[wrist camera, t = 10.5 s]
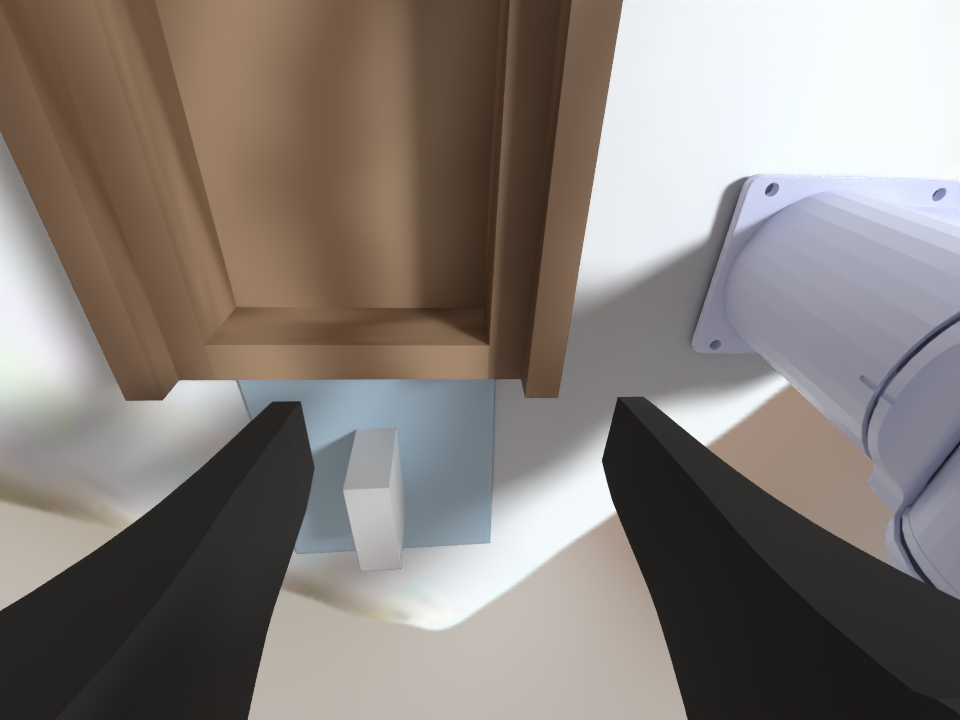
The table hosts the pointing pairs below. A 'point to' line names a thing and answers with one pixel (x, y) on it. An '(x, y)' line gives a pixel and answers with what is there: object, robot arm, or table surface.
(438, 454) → the cover plate
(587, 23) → the walnut box
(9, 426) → the table surface
